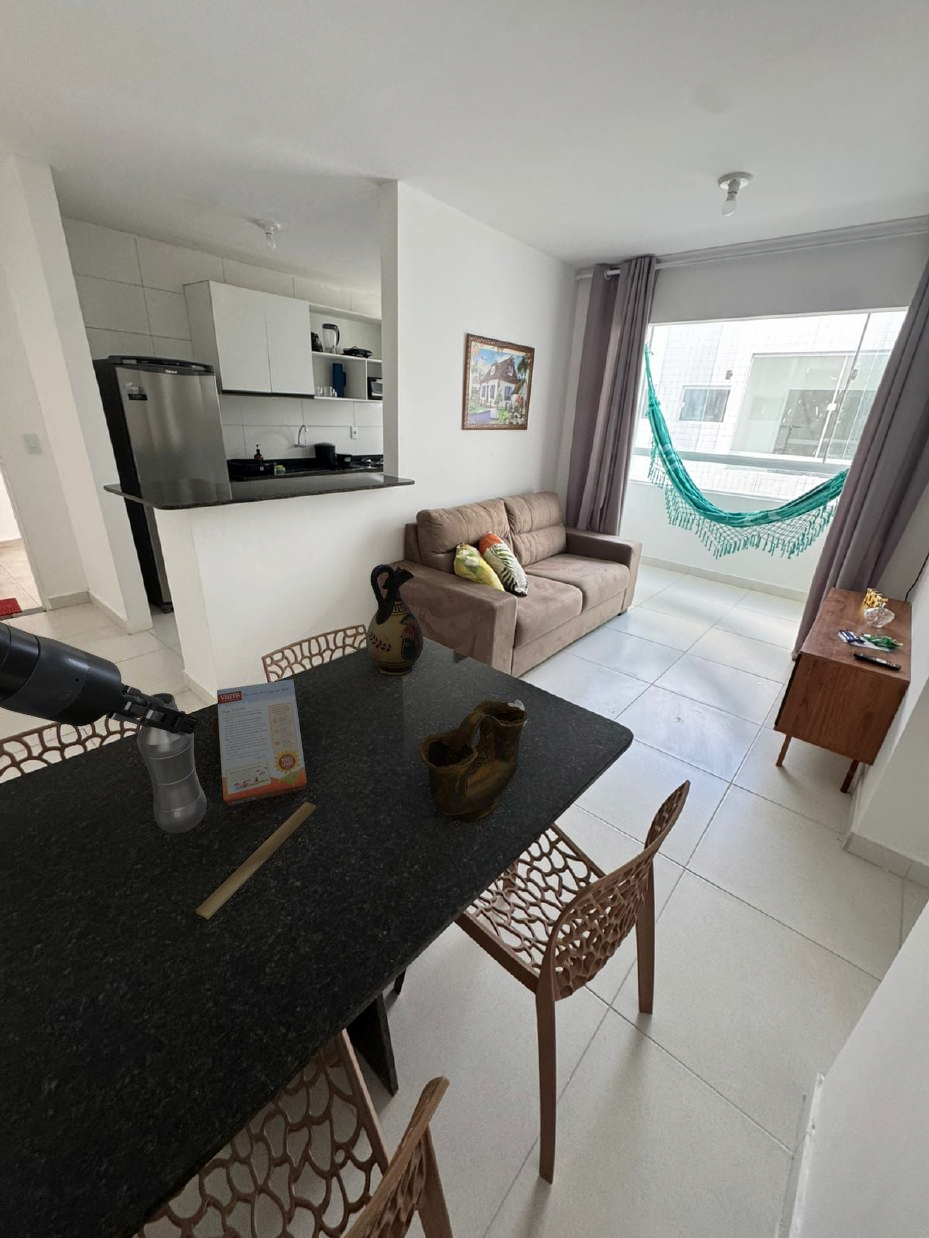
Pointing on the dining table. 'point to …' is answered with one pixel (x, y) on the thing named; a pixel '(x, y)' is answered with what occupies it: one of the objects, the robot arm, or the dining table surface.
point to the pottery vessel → (474, 760)
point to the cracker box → (260, 742)
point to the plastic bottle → (172, 775)
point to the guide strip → (254, 862)
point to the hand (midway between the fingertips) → (175, 718)
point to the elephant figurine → (518, 704)
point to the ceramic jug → (393, 625)
